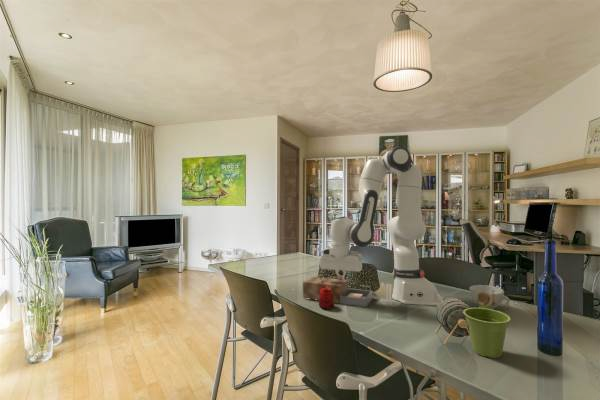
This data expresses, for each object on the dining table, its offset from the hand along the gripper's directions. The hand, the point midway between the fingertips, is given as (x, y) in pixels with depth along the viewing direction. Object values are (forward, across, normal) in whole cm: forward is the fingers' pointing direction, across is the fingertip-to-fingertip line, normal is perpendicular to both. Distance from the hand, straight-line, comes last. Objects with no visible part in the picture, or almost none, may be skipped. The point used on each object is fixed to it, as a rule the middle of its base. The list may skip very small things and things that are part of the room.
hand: (341, 279), depth 142 cm
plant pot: (+10, -56, +33) cm, 65 cm away
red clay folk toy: (+10, +3, +13) cm, 17 cm away
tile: (+7, -7, 0) cm, 9 cm away
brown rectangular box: (+9, +8, 0) cm, 12 cm away
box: (+9, -8, 0) cm, 12 cm away
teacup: (+10, -62, -11) cm, 63 cm away
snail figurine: (+10, -58, +5) cm, 60 cm away
